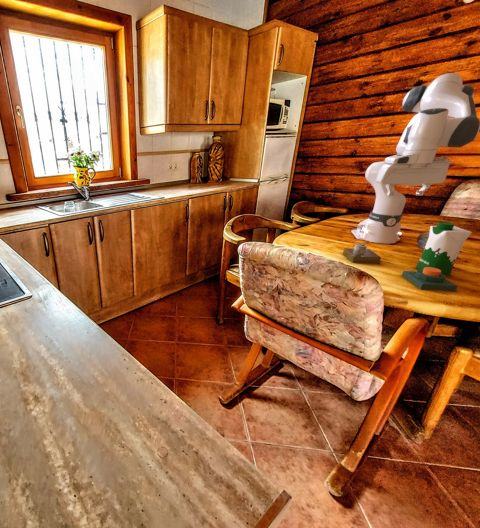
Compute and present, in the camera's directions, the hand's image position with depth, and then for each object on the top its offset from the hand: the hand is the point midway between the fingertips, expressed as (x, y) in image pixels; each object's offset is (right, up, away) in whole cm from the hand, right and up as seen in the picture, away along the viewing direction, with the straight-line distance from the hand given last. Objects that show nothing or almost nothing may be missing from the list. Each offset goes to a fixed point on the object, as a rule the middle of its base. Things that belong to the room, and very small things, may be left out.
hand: (404, 195), depth 109 cm
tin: (+34, -21, +20) cm, 45 cm away
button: (+3, -31, -7) cm, 32 cm away
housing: (+3, -34, -6) cm, 35 cm away
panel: (-3, -25, +17) cm, 30 cm away
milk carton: (+13, -30, +2) cm, 33 cm away
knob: (-6, -22, +15) cm, 27 cm away
